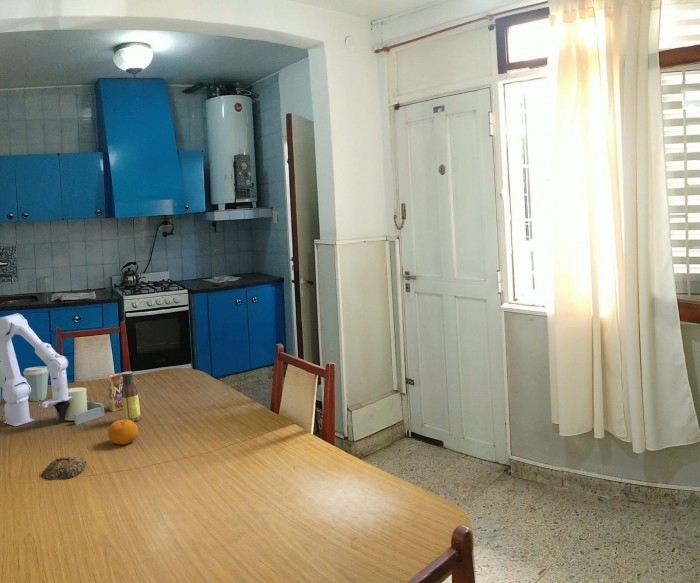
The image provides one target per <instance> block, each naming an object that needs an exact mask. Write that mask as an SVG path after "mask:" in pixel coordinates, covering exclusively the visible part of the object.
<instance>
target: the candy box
mask: <svg viewBox="0 0 700 583" xmlns="http://www.w3.org/2000/svg"><path fill="white" fill-rule="evenodd" d="M122 373H123V372H118V373H113V374H107V390H108V391H107V392H108V393H107V394H108V403H109V405H108V406H109V407H108V408H109V410H110V411H111V410H112V411H111V412H116V411H120V409H121V410H123V403H122V393H121V390H122V387H123V377H122Z"/></svg>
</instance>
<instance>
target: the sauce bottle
mask: <svg viewBox="0 0 700 583" xmlns="http://www.w3.org/2000/svg"><path fill="white" fill-rule="evenodd" d="M121 373H122V372H121ZM133 375H134V374H133V371H124V372H123V373H122V377H123V387H122V390H121V393H122V403H123V409H122V410H123V411H122V412H123V417H124V420H125V419H127V420H131V421H133V422H134V423H137V422H138V421H140V420H141V408H140V400H139V393H138V390H137V388H136V385H135V383H134V378H133Z"/></svg>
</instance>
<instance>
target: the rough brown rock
mask: <svg viewBox="0 0 700 583" xmlns="http://www.w3.org/2000/svg"><path fill="white" fill-rule="evenodd" d="M86 466H87V461H86V460H85V459H84V458H83V457H79V456H76V455H75V456H74V455H70V456H63V457H58V458H56V459H54V460H53V461H51V462H50V463H49V464H48V465H47V467H45V468H44V470H43V471H42V473H41V476H42V477H43V478H46V479H47V480H69V479H72V478H75V477H76V476H78V475H79V474H81V473H82V472H83V471H84V470H85V468H86Z"/></svg>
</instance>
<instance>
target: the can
mask: <svg viewBox="0 0 700 583" xmlns="http://www.w3.org/2000/svg"><path fill="white" fill-rule="evenodd" d="M68 396H69V397H70V396H72V398H71V399H69V400H68V402H69V403H70V405H69V407H68V409H67V412H66V416H65V420H64V421H74V415H75V414H78V413H81V412H84V411H87V400H88V399H87V397H88V396H87V387H71V388H68Z"/></svg>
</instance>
